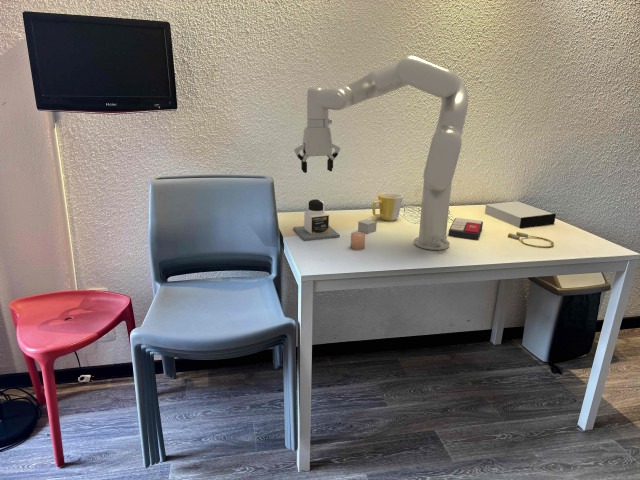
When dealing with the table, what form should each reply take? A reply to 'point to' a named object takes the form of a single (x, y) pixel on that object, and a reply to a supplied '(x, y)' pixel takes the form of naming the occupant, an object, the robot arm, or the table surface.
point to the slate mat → (307, 236)
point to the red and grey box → (465, 228)
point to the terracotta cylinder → (357, 241)
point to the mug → (388, 205)
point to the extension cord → (527, 238)
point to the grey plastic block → (367, 226)
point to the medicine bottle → (316, 218)
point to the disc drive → (520, 214)
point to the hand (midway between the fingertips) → (317, 171)
